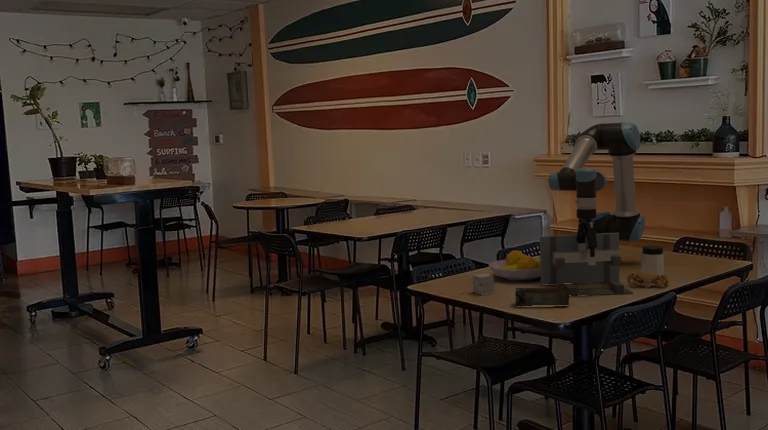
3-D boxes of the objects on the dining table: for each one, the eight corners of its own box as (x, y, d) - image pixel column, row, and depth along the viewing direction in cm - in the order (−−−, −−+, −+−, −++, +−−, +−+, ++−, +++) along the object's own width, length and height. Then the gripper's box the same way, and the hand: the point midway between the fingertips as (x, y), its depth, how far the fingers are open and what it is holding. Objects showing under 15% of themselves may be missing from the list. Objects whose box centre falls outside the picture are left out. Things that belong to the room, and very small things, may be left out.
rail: (552, 261, 304) (552, 252, 304) (617, 258, 305) (617, 248, 304) (555, 263, 301) (554, 253, 300) (620, 260, 301) (620, 250, 301)
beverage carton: (515, 303, 287) (514, 285, 286) (567, 302, 284) (567, 285, 283) (515, 308, 279) (515, 290, 278) (569, 308, 276) (569, 290, 275)
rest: (555, 293, 298) (555, 284, 298) (626, 289, 299) (626, 280, 299) (559, 297, 292) (559, 288, 291) (633, 293, 292) (633, 284, 292)
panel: (540, 284, 314) (539, 236, 312) (618, 280, 315) (618, 232, 313) (548, 292, 301) (547, 241, 298) (629, 288, 301) (629, 237, 299)
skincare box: (472, 293, 306) (472, 274, 305) (485, 290, 308) (484, 272, 308) (481, 295, 300) (481, 277, 299) (494, 293, 303) (493, 275, 302)
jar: (654, 278, 317) (654, 249, 315) (637, 275, 324) (637, 247, 322) (667, 275, 322) (667, 246, 320) (651, 272, 329) (651, 244, 327)
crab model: (664, 282, 310) (664, 269, 309) (670, 289, 297) (670, 275, 297) (624, 282, 313) (624, 269, 312) (629, 289, 300) (629, 275, 299)
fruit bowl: (483, 283, 322) (482, 256, 321) (498, 270, 347) (497, 245, 346) (550, 285, 312) (550, 258, 311) (561, 272, 337) (560, 246, 335)
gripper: (568, 205, 312) (568, 257, 314) (585, 211, 288) (586, 267, 290) (586, 205, 312) (587, 257, 314) (605, 210, 288) (606, 267, 290)
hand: (586, 262), depth 302 cm, fingers open, 13 cm apart
